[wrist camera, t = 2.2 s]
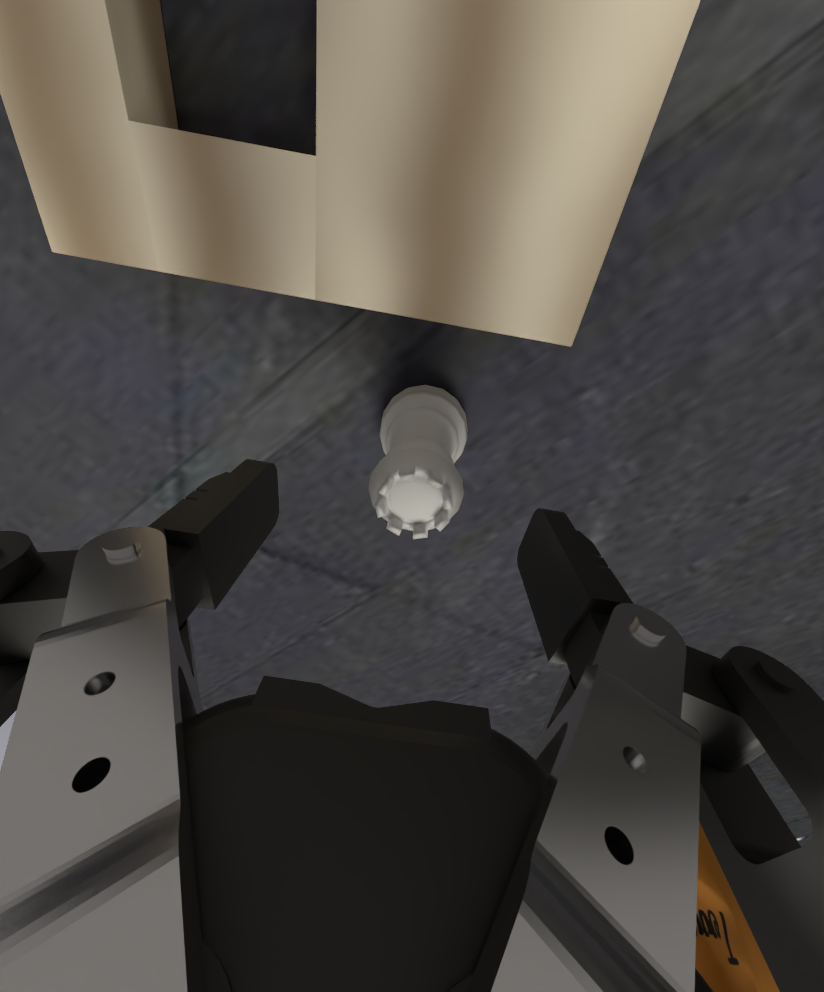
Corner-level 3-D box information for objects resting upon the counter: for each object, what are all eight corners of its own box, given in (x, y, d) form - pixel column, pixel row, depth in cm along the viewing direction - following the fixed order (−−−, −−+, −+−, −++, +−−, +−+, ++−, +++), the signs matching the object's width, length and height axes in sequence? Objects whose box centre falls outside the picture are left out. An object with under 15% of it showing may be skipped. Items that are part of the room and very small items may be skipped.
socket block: (773, -306, 8) (901, -539, 6) (552, 340, 15) (571, 346, 13) (-84, -493, 7) (-298, -817, 5) (109, 259, 15) (52, 252, 12)
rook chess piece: (365, 424, 18) (316, 502, 11) (426, 362, 16) (416, 408, 9) (422, 479, 19) (412, 580, 12) (484, 428, 17) (514, 512, 10)
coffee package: (646, 705, 28) (1059, 1510, 9) (738, 751, 31) (1205, 1453, 12) (561, 747, 33) (725, 1344, 14) (648, 784, 36) (883, 1330, 17)
